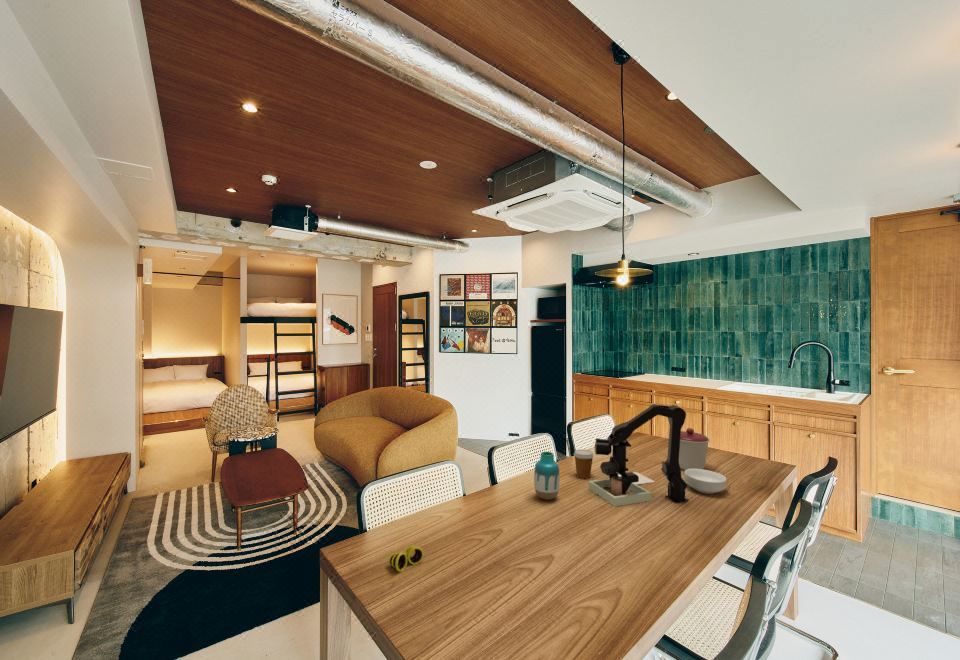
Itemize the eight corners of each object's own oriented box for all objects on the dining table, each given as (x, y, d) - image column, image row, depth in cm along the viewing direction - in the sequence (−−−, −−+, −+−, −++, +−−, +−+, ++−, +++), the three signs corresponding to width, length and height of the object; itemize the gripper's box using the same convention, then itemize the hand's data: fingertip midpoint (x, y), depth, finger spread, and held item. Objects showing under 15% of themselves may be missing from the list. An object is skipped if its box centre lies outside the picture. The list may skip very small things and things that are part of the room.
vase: (530, 500, 168) (531, 454, 168) (538, 491, 177) (539, 448, 177) (554, 505, 163) (555, 458, 163) (562, 496, 172) (562, 451, 172)
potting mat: (655, 482, 188) (655, 481, 188) (632, 485, 184) (632, 484, 184) (636, 473, 201) (636, 472, 201) (614, 475, 197) (614, 474, 197)
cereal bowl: (723, 501, 169) (724, 485, 169) (680, 491, 179) (681, 475, 179) (728, 489, 182) (728, 473, 182) (687, 480, 192) (688, 465, 192)
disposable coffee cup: (589, 481, 189) (589, 456, 188) (570, 477, 194) (570, 452, 194) (596, 476, 196) (596, 451, 196) (578, 471, 202) (578, 447, 202)
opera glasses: (415, 558, 126) (413, 541, 127) (424, 562, 123) (423, 545, 123) (388, 570, 120) (386, 553, 121) (397, 575, 116) (395, 556, 117)
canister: (673, 472, 202) (674, 431, 202) (667, 461, 219) (668, 422, 219) (713, 476, 197) (714, 434, 197) (704, 464, 214) (705, 425, 214)
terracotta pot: (629, 496, 172) (629, 480, 172) (617, 498, 170) (617, 481, 170) (620, 491, 178) (620, 474, 178) (607, 492, 176) (608, 476, 176)
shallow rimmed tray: (650, 500, 168) (651, 492, 168) (614, 506, 163) (614, 497, 163) (622, 484, 186) (622, 476, 186) (588, 488, 180) (588, 481, 180)
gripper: (591, 450, 181) (590, 485, 181) (617, 464, 163) (616, 502, 163) (611, 448, 184) (611, 482, 184) (639, 461, 166) (639, 499, 166)
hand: (618, 491), depth 174 cm, fingers closed on terracotta pot, 6 cm apart
